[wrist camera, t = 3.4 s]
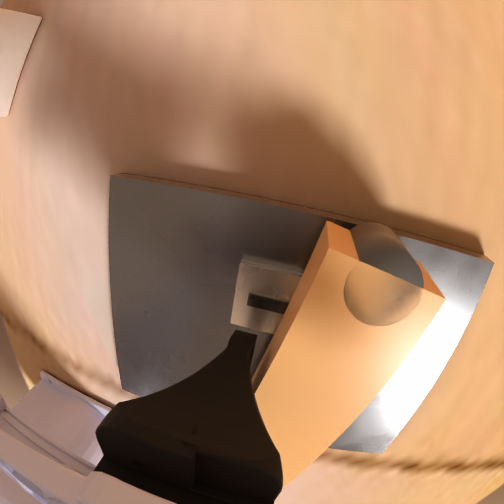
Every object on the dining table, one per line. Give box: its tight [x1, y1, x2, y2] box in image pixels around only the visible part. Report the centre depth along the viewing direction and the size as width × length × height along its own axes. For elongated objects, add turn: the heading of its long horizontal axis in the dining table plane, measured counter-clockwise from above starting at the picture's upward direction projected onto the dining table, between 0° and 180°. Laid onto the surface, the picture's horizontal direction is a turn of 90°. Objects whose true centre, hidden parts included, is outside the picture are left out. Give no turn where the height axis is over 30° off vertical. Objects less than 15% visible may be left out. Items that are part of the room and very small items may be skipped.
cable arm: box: [252, 221, 446, 488], centre depth 13 cm, size 18×4×3 cm, turn 162°
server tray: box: [109, 173, 494, 453], centre depth 15 cm, size 18×18×2 cm
